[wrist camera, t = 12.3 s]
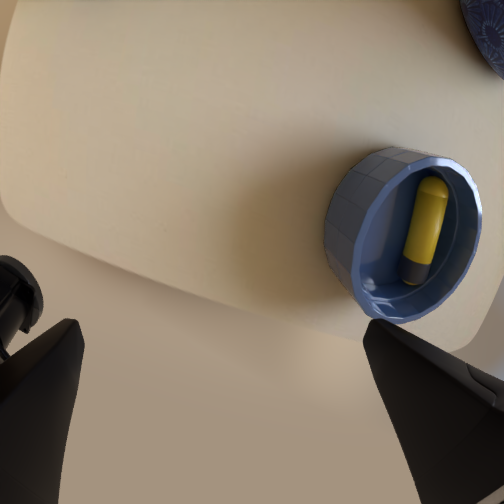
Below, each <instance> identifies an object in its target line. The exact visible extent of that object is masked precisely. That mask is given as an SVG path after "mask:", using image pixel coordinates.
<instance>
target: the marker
mask: <svg viewBox="0 0 504 504" xmlns="http://www.w3.org/2000/svg"><path fill="white" fill-rule="evenodd" d="M448 195H449V194H448V188H447V186H446V184H445V183H444V181H443V180H442V179H440V178H438V177H435V176H429V177H426V178H424V179H423V180H422V181H421V182H420V184H419V186H418V190H417V195H416V200H415V205H414V209H413V214H412V218H411V223H410V227H409V231H408V235H407V239H406V243H405V247H404V250H403V252H402V255H401V259H400V262H399V266H398V269H397V275H398V276H399V277H400V278H401V279H402V280H403V281H404V282H405V283H407V284H409V285H417V284H424V283H425V282H426V279H427V276H428V273H429V270H430V267H431V264H432V258H433V255H434V252H435V248H436V245H437V241H438V238H439V234H440V230H441V227H442V223H443V219H444V214H445V210H446V206H447V201H448Z"/></svg>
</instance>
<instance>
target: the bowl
mask: <svg viewBox="0 0 504 504" xmlns="http://www.w3.org/2000/svg"><path fill="white" fill-rule="evenodd" d="M429 176H435V177H438V178H440V179H442V180H443V181H444V183H445V184H446V186H447V188H448V194H449V195H448V201H447V206H446V210H445V214H444V219H443V223H442V227H441V230H440V234H439V238H438V241H437V245H436V248H435V252H434V255H433V258H432V264H431V267H430V270H429V273H428V276H427V279H426V282H425V283H424V284H417V285H409V284H407V283H405V282H404V281H403V280H402V279H401V278H400V277H399V276H398V275H397V269H398V266H399V262H400V259H401V255H402V252H403V250H404V247H405V243H406V239H407V235H408V231H409V227H410V223H411V218H412V214H413V209H414V205H415V200H416V195H417V190H418V186H419V184H420V182H421V181H422V180H423V179H424V178H426V177H429ZM481 207H482V206H481V202H480V197H479V193H478V189H477V186H476V184H475V183H474V181H473V179H472V178H471V176H470V174H469V173H468V171H467V170H466V169H465V168H464V167H462V166H461V165H459V164H458V163H457V162H455V161H454V160H452V159H450V158H447V157H443V156H439V155H435V154H432V153H428V152H423V151H419V150H415V149H410V148H400V147H390V148H387V149H383V150H380V151H377V152H374V153H371V154H370V155H368V156H367V157H366V158H364V159H363V160H362V161H361V162H359V163H358V164H357V165H356V166H354V167H353V168H352V169H351V170H350V171H349V172H348V174H347V175H346V176H345V177H344V179H343V180H342V181H341V183H340V185H339V186H338V188H337V189H336V191H335V193H334V195H333V198H332V200H331V203H330V206H329V209H328V213H327V215H326V219H325V233H324V247H325V251H326V255H327V259H328V263H329V266H330V268H331V269H332V271H333V272H334V274H335V275H336V276H337V278H338V279H339V281H340V282H341V283H342V284H343V286H344V287H345V288H346V290H347V291H348V292H349V293H350V295H351V296H352V297H353V298H354V300H355V301H356V302H357V304H358V305H359V306H360V308H361V309H362V310H363V311H364V313H365V314H366V315H368V316H369V317H371V318H373V319H377V318H383V319H385V320H387V321H389V322H391V323H393V324H403V323H407V322H410V321H414V320H417V319H420V318H421V317H423V316H425V315H426V314H428V313H430V312H431V311H433V310H435V309H436V308H438V307H439V306H440V305H441V304H442V303H443V302H444V301H445V300H446V299H447V298H448V297H449V296H450V295H451V294H452V293H453V292H454V291H455V289H456V288H457V287H458V285H459V284H460V282H461V281H462V280H463V278H464V277H465V275H466V273H467V271H468V269H469V267H470V265H471V263H472V261H473V258H474V256H475V254H476V251H477V247H478V243H479V238H480V234H481V227H482V208H481Z"/></svg>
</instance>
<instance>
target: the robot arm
mask: <svg viewBox="0 0 504 504" xmlns="http://www.w3.org/2000/svg"><path fill="white" fill-rule="evenodd" d="M30 290H31V291H32V292H31V291H30ZM35 295H36V290H35V288H34V287H33V286H32V285H30V284H28V283H27V282H25V281H24V280H22V279H21V278H19V277H18V276H16V275H15V274H13V273H12V272H10V271H9V270H7V269H6V268H4V267H3V266H1V265H0V504H58V498H59V488H60V479H61V472H62V465H63V458H64V452H65V446H66V440H67V435H68V431H69V426H70V420H71V416H72V412H73V408H74V403H75V399H76V395H77V390H78V384H79V378H80V371H81V365H82V359H83V353H84V347H85V343H84V339H83V336H82V332H81V329H80V326H79V322H78V321H77V320H75V319H68V318H67V319H66V318H65V319H63V320H62V321H60V322H59V323H57V324H56V325H54V326H53V327H51V328H50V329H48V330H47V331H46V332H44V333H43V334H41V335H40V336H38V337H37V338H36V339H34V340H33V341H31V342H30V343H28V344H27V345H26V346H24V347H23V348H21V349H20V350H19V351H17V352H16V353H15V354H13V355H12V356H10V355H9V354H8V352H7V351H6V348H7V347H8V345H9V343H10V342H11V340H12V339H13V337H14V335H15V334H16V332H17V331H18V329H19V330H21V331H22V332H24V333H26V334H28V333H29V331H30V327H31V320H32V313H33V306H34V300H35ZM363 346H364V349H365V352H366V355H367V358H368V361H369V364H370V368H371V371H372V374H373V377H374V380H375V383H376V385H377V388H378V390H379V393H380V395H381V397H382V400H383V402H384V404H385V407H386V409H387V412H388V414H389V417H390V419H391V422H392V424H393V426H394V429H395V432H396V434H397V437H398V439H399V442H400V444H401V447H402V450H403V452H404V455H405V458H406V460H407V463H408V466H409V469H410V471H411V474H412V477H413V480H414V482H415V486H416V489H417V492H418V494H419V498H420V501H421V504H504V381H502V380H500V379H498V378H496V377H494V376H491V375H489V374H487V373H485V372H483V371H481V370H479V369H477V368H475V367H473V366H471V365H470V364H468V363H465V362H464V361H462V360H460V359H458V358H457V357H454V356H453V355H451V354H449V353H447V352H445V351H443V350H442V349H440V348H438V347H436V346H434V345H432V344H430V343H428V342H427V341H425V340H423V339H421V338H419V337H417V336H415V335H414V334H412V333H410V332H408V331H406V330H404V329H402V328H400V327H399V326H397V325H395V324H393V323H391V322H389V321H387V320H385V319H383V318H377V319H372V320H371V321H370V323H369V325H368V328H367V330H366V333H365V335H364V338H363Z"/></svg>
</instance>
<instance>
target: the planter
mask: <svg viewBox="0 0 504 504" xmlns="http://www.w3.org/2000/svg"><path fill="white" fill-rule="evenodd" d="M460 5H461V9H462V12H463V15H464V18H465V21H466V24H467V26H468V29H469V31H470V33H471V35H472V37H473V39H474V41H475V43H476V45H477V47H478V48H479V50H480V52H481V53H482V55H483V56H484V58H485V59H486V61H487V62H488V64H489V65H490V66H491V67H492V68H493V70H494V71H495V72H496V73H497V74H498V75H499V76H500V77H501V78H502V79H503V80H504V0H460Z"/></svg>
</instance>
